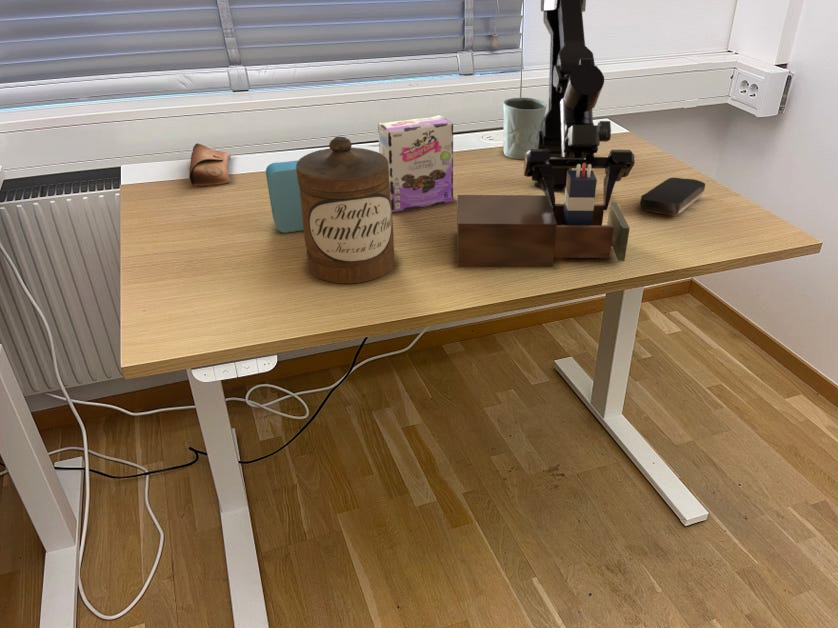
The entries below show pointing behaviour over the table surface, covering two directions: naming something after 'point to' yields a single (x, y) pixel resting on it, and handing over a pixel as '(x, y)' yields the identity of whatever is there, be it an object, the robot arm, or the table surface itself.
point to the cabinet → (505, 231)
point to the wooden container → (346, 212)
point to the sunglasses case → (208, 166)
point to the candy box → (418, 161)
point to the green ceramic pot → (521, 125)
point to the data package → (285, 196)
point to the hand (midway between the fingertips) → (579, 209)
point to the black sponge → (672, 196)
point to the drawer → (592, 235)
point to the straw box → (579, 196)
